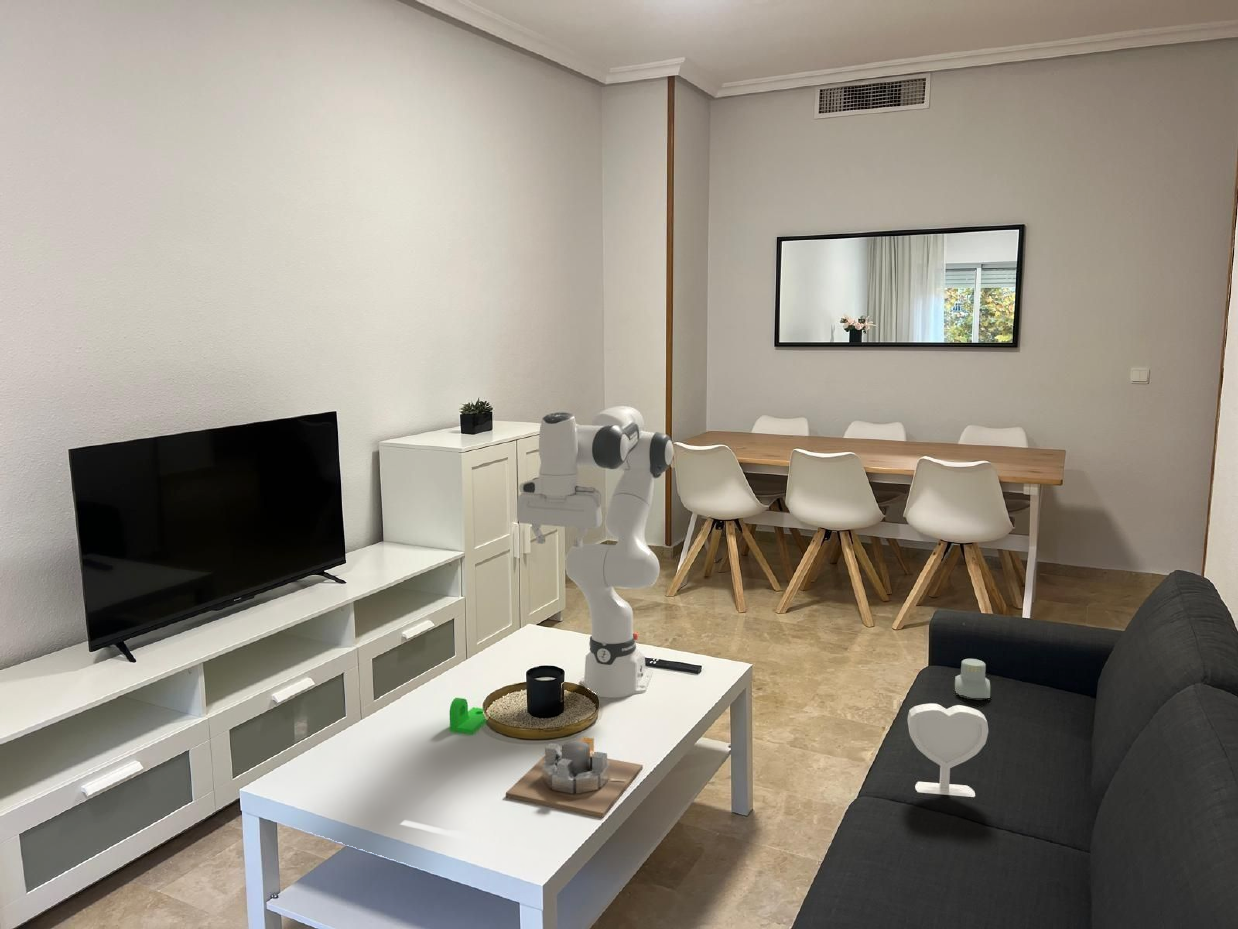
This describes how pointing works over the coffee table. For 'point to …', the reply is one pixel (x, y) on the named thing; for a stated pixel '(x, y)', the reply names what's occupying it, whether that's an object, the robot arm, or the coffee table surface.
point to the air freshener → (972, 679)
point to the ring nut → (561, 770)
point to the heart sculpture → (947, 741)
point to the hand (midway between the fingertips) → (559, 544)
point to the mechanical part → (465, 717)
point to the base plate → (586, 802)
